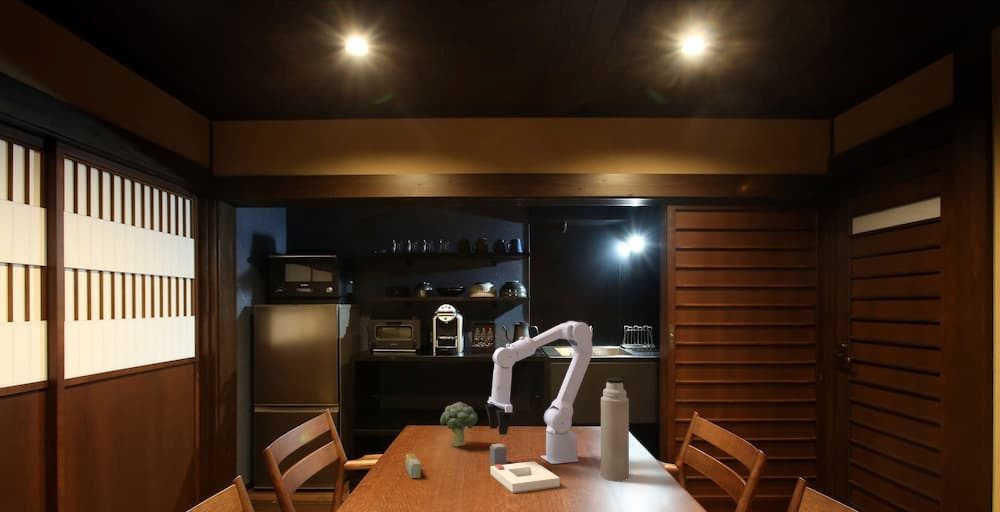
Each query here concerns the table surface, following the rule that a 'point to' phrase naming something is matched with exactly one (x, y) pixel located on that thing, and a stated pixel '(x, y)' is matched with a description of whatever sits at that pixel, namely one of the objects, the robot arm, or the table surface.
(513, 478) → the faceplate
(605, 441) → the thermos bottle
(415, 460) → the medication box
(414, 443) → the table surface
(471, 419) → the vegetable
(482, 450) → the table surface
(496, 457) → the plug
